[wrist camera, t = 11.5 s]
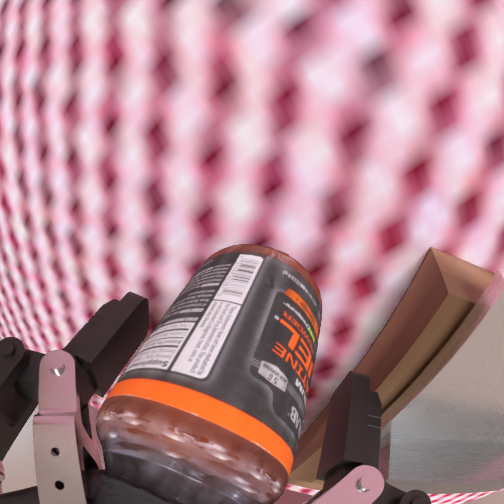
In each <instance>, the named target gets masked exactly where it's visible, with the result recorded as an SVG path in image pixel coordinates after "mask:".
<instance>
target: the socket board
mask: <svg viewBox="0 0 504 504" xmlns="http://www.w3.org/2000/svg"><path fill="white" fill-rule="evenodd" d="M494 275H495V274H494V273H492V272H489V271H487V270H485V269H482V268H480V267H478V266H475V265H473V264H471V263H468V262H466V261H464V260H461V259H459V258H456V257H454V256H452V255H449V254H447V253H444V252H442V251H439V250H437V249H434V248H432V247H431V248H430V250H429V252H428V254H427V256H426V258H425V260H424V261H423V263H422V265H421V267H420V269H419V271H418V272H417V274H416V276H415V278H414V279H413V281H412V283H411V285H410V286H409V288H408V290H407V292H406V293H405V295H404V297H403V298H402V300H401V302H400V303H399V305H398V307H397V308H396V310H395V311H394V313H393V315H392V316H391V318H390V319H389V321H388V322H387V324H386V326H385V327H384V329H383V330H382V332H381V333H380V335H379V336H378V338H377V339H376V341H375V342H374V344H373V345H372V347H371V348H370V349H369V351H368V352H367V354H366V355H365V357H364V358H363V359H362V361H361V362H360V364H359V365H358V366H357V368H356V369H355V371H354V372H357V373H361V374H365V375H369V376H370V391H374V392H378V395H379V398H380V401H381V403H382V414H383V413H384V412H385V411H386V410H387V409H388V408H389V407H390V406H391V405H392V404H393V403H394V402H395V401H396V400H397V399H398V398H399V397H400V396H401V395H402V394H403V393H404V392H405V391H406V390H407V388H408V387H409V386H410V385H411V384H412V383H413V382H414V381H415V380H416V379H417V378H418V377H419V375H420V374H421V373H422V372H423V371H424V370H425V369H426V367H427V366H428V365H429V364H430V363H431V362H432V360H433V359H434V358H435V357H436V356H437V354H438V353H439V352H440V351H441V350H442V348H443V347H444V346H445V345H446V343H447V342H448V341H449V340H450V338H451V337H452V336H453V334H454V333H455V332H456V330H457V329H458V328H459V327H460V325H461V324H462V322H463V321H464V320H465V318H466V317H467V316H468V314H469V313H470V311H471V310H472V309H473V307H474V306H475V304H476V303H477V301H478V300H479V298H480V297H481V295H482V294H483V292H484V291H485V289H486V288H487V286H488V285H489V283H490V281H491V280H492V278H493V277H494ZM329 406H330V403H329V404H328V406H327V407H326V408H325V409H324V411H323V412H322V413H321V414H320V415H319V417H318V418H317V419H316V420H315V421H314V423H313V424H312V425H311V426H310V427H309V428H308V430H307V431H306V432H305V433H304V434H303V435H302V437H301V438H300V439H299V440H298V445H297V450H296V454H295V457H294V461H293V464H292V468H291V472H290V476H289V480H288V484H293V485H297V486H302V487H306V488H311V489H317V490H322V489H323V485H324V481H322V480H317V479H316V475H317V471H318V466H319V461H320V456H321V451H322V446H323V441H324V435H325V430H326V424H327V418H328V412H329Z"/></svg>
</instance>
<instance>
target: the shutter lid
mask: <svg viewBox="0 0 504 504" xmlns="http://www.w3.org/2000/svg"><path fill="white" fill-rule="evenodd" d="M380 429H381V436H380V450H379V462H378V467H379V471H380V473H381V474H382V476H383V478H384V480H385V481H386V482H387V483H388V484H390V485H392V486H394V487H396V488H398V489H400V490H402V491H404V492H406V493H407V492H409V491H411V490H421V491H424V492H425V493H426V494H449V493H473V492H486V491H496V490H501V489H502V488H504V272H503V271H500V270H497V272H496V273H495V275H494V277H493V278H492V280H491V281H490V283H489V285H488V286H487V288H486V289H485V291H484V292H483V294H482V295H481V297H480V298H479V300H478V301H477V303H476V304H475V306H474V307H473V309H472V310H471V311H470V313H469V314H468V316H467V317H466V318H465V320H464V321H463V322H462V324H461V325H460V327H459V328H458V329H457V330H456V332H455V333H454V334H453V336H452V337H451V338H450V340H449V341H448V342H447V343H446V345H445V346H444V347H443V348H442V350H441V351H440V352H439V353H438V354H437V356H436V357H435V358H434V359H433V360H432V362H431V363H430V364H429V365H428V366H427V367H426V369H425V370H424V371H423V372H422V373H421V374H420V375H419V377H418V378H417V379H416V380H415V381H414V382H413V383H412V384H411V385H410V386H409V387H408V388H407V390H406V391H405V392H404V393H403V394H402V395H401V396H400V397H399V398H398V399H397V400H396V401H395V402H394V403H393V404H392V405H391V406H390V407H389V408H388V409H387V410H386V411H385V412H384V413H383V414H382V417H381V428H380Z"/></svg>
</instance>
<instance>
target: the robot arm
mask: <svg viewBox="0 0 504 504" xmlns="http://www.w3.org/2000/svg"><path fill="white" fill-rule="evenodd" d="M148 329H149V307H148V299H147V298H144V297H142V296H140V295H137V294H135V293H133V292H128V293H127V294H126V295H125V296H124V297H123V298H122V299H121V301H118V300H116V299H114V300H112V301H110V302H108V303H106V304H104V305H103V306H102V307H101V308H100V309H99V310H98V311H97V312H96V313H95V315H93V317H92V318H91V319H90V320H89V322H88V323H86V324H85V325H84V326H83V328H82V329H81V330H80V331H79V332H78V333H77V334H76V335H75V337H74V338H73V339H72V340H71V341H70V342H69V343H68V345H67V346H66V347H65V348H64V349H62V350H54V351H51V352H49V353H47V354H42V353H39V352H35V351H31V350H28V349H25V347H24V345H23V343H22V341H21V340H19V339H18V338H15V337H7V338H4V339H3V340H1V341H0V504H91V500H92V498H93V496H94V495H95V494H96V492H97V490H98V488H99V487H100V485H101V483H102V481H103V480H102V477H101V474H102V473H105V472H106V470H103V469H102V466H101V461H100V456H99V453H98V450H97V447H96V443H95V438H94V431H93V424H92V414H91V405H90V399H91V397H92V396H93V394H94V393H95V394H97V395H99V396H100V397H102V398H103V397H104V395H105V394H106V392H107V391H108V389H109V388H110V386H111V385H112V384H113V382H114V381H115V379H116V378H117V376H118V375H119V374H120V372H121V371H122V369H123V368H124V366H125V365H126V364H127V362H128V361H129V359H130V358H131V357H132V355H133V354H134V352H135V351H136V350H137V348H138V347H139V345H140V344H141V343H142V341H143V340H144V338H145V337H146V335H147V332H148ZM38 404H39V411H38V414H37V415H34V418H33V442H34V443H33V444H34V458H35V469H36V479H37V486H34V487H30V488H26V489H22V490H18V491H13V492H9V493H4V494H3V493H2V488H1V483H2V481H3V480H4V478H5V475H4V467H3V464H2V460H3V459H4V457H5V455H6V454H7V452H8V450H9V449H10V447H11V445H12V444H13V442H14V441H15V439H16V437H17V436H18V434H19V433H20V431H21V430H22V428H23V426H24V425H25V423H26V422H27V420H28V419H29V417H30V416H31V414H32V413H33V411H34V410H35V408H36V407H37V405H38ZM381 417H382V403H381V401H380V398H379V395H378V392H374V391H370V376H369V375H365V374H361V373H357V372H354V371H350V372H349V373H348V374H347V376H346V377H345V379H344V380H343V381H342V383H341V384H340V385H339V387H338V388H337V390H336V391H335V392H334V394H333V396H332V399H331V402H330V406H329V412H328V418H327V424H326V430H325V435H324V441H323V446H322V451H321V456H320V461H319V466H318V471H317V475H316V479H317V480H322V481H324V485H323V489H322V490H320V491H319V492H318V493H316V494H315V495H314V496H313V497H311V498H310V499H309V500H307V501H306V502H305V503H303V504H431V501H430V498H429V496H428V495H427V494H426V493H425V492H424V491H421V490H411V491H409V492H407V493H406V492H404V491H402V490H400V489H398V488H396V487H394V486H392V485H390V484H388V483H387V482H386V481H385V480H384V478H383V476H382V474H381V473H380V471H379V467H378V462H379V450H380V436H381V429H380V428H381Z"/></svg>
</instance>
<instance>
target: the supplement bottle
mask: <svg viewBox="0 0 504 504" xmlns="http://www.w3.org/2000/svg"><path fill="white" fill-rule="evenodd" d="M321 320H322V300H321V296H320V291H319V288H318V287H317V285H316V283H315V281H314V279H313V278H312V276H311V275H310V274H309V273H308V271H307V270H306V269H305V268H304V267H303V266H302V265H301V264H300V263H299V262H297V261H296V260H295V259H293V258H291V257H290V256H289V255H288V254H286V253H284V252H281V251H278V250H275V249H273V248H270V247H265V246H260V245H254V244H240V245H233V246H231V247H227V248H225V249H222V250H220V251H218V252H216V253H214V254H213V255H211V256H210V257H209V258H208V259H207V260H206V261H205V262H204V263H203V265H202V266H201V267H200V268H199V269H198V270H197V271H196V273H195V274H194V276H193V277H192V278H191V280H190V281H189V282H188V284H187V285H186V286H185V288H184V289H183V291H182V292H181V293H180V294H179V296H178V297H177V299H176V300H175V301H174V303H173V304H172V305H171V307H170V308H169V310H168V311H167V312H166V314H165V315H164V317H163V318H162V319H161V321H160V322H159V323H158V325H157V326H156V327H155V328H154V330H153V331H152V333H151V335H150V336H149V337H148V339H147V340H146V341H145V343H144V345H143V346H142V347H141V349H140V350H139V351H138V353H137V354H136V356H135V357H134V358H133V360H132V361H131V363H130V364H129V366H128V367H127V369H126V370H125V371H124V373H123V374H122V375H121V377H120V378H119V380H118V382H117V383H116V384H115V386H114V387H113V389H112V390H111V392H110V393H109V395H108V396H107V398H106V399H105V401H104V402H103V405H102V406H101V408H100V410H99V412H98V415H97V417H96V431H97V435H98V438H99V440H100V442H101V445H102V449H103V456H104V462H105V467H106V468H105V470H106V472H105V473H102V474H101V477H102V480H103V481H102V483H101V485H100V487H99V488H98V490H97V492H96V494H95V495H94V496H93V498H92V500H91V504H273V503H275V502H276V501H277V500H278V499H279V497H280V496H281V495H282V494H283V492H284V490H285V487H286V485H287V483H288V480H289V476H290V472H291V468H292V464H293V461H294V457H295V454H296V450H297V445H298V440H299V437H300V431H301V427H302V422H303V419H304V415H305V409H306V403H307V398H308V392H309V389H310V384H311V378H312V373H313V368H314V363H315V359H316V352H317V347H318V338H319V333H320V327H321Z"/></svg>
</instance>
